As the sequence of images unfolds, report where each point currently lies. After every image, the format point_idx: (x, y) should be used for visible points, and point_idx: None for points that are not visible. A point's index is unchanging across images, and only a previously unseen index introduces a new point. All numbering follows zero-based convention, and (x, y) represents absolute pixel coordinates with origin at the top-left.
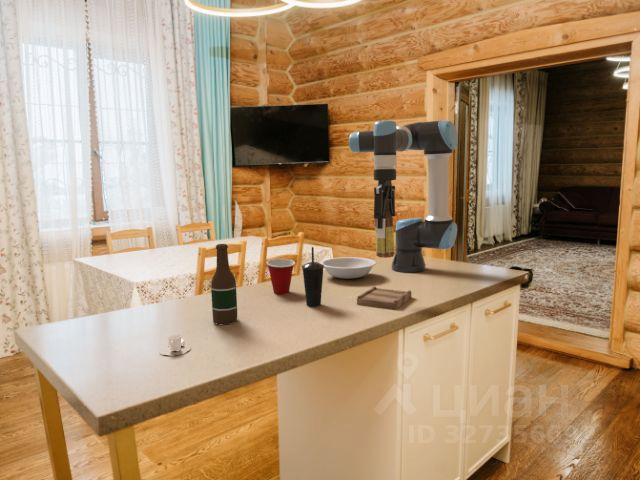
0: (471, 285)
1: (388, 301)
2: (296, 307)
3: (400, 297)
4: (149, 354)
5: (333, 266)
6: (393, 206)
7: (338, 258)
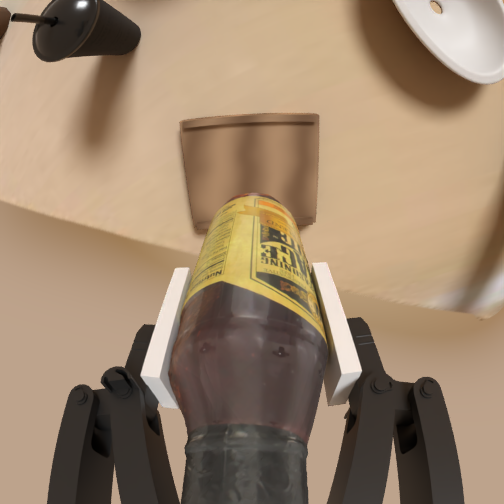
0: (433, 287)
1: (200, 205)
2: None
3: None
4: None
5: None
6: (398, 464)
7: None
